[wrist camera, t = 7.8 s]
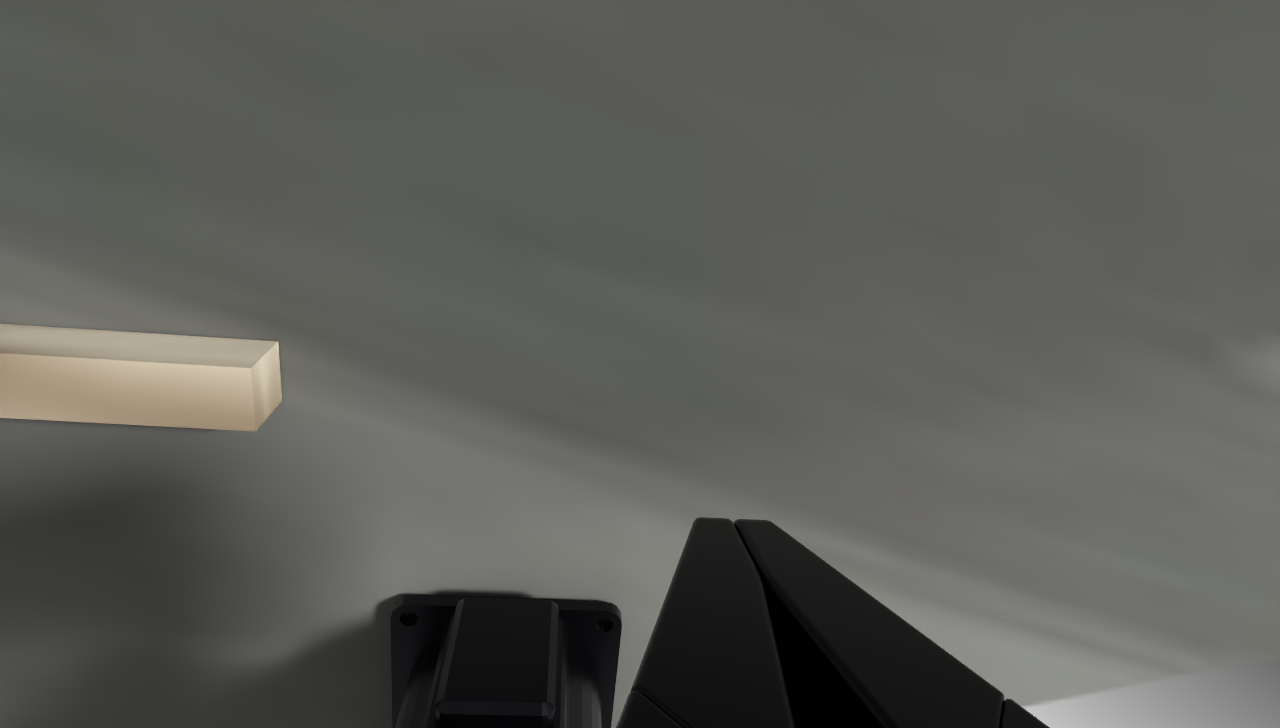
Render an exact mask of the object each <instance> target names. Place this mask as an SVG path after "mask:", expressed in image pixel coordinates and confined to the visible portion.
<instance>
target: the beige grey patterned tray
mask: <svg viewBox="0 0 1280 728" xmlns="http://www.w3.org/2000/svg"><path fill="white" fill-rule="evenodd" d="M281 401H282V390H281V376H280V361H279V347H278V342H277V341H261V340H246V339H230V338H215V337H199V336H183V335H168V334H152V333H136V332H121V331H105V330H89V329H74V328H58V327H42V326H27V325H11V324H0V418H15V419H33V420H52V421H71V422H90V423H109V424H128V425H146V426H165V427H184V428H203V429H222V430H240V431H257V430H258V428H259V427H260V426H261V425H262V424H263V423H264V421H265V420H266V419H267V418H268V417H269V415H270V414H271V413H272V412H273V411H274V409H275V408H276V407H277V406H278V405H279V403H280V402H281Z"/></svg>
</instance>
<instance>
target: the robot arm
mask: <svg viewBox="0 0 1280 728" xmlns="http://www.w3.org/2000/svg"><path fill="white" fill-rule="evenodd" d="M404 612H413V613H415V614H416V615H417V616H416V617H409V616H406V615H405V614H404ZM602 618H608V619H610V620H611V621H609V622H608V623H600V622H598V620H599V619H602ZM621 628H622V623H621V612H620V610H619V609H618V607H617V606H615V605H614V604H612V603H608V602H590V601H561V600H540V599H511V598H482V597H445V596H416V595H411V596H404V597H402V598H400V599H399V600H398V601H397V602H396V603H395V606H394V609H393V612H392V615H391V658H392V713H393V728H611V721H612V712H613V703H614V693H615V684H616V675H617V665H618V656H619V647H620V637H621ZM616 728H1049V727H1048V726H1046V725H1045V724H1044V723H1042V722H1041V721H1040V720H1038V719H1037V718H1036V717H1034V716H1033V715H1032V714H1030V713H1029V712H1028V711H1026V710H1025V709H1024V708H1022V707H1021V706H1020V705H1018V704H1017V703H1016V702H1014V701H1013V700H1011V699H1006V700H1005V701H1004V695H1003V693H1002V692H1000V691H999V690H998V689H996V688H995V687H994V686H992V685H991V684H990V683H988V682H987V681H985V680H984V679H983V678H981V677H980V676H979V675H977V674H976V673H975V672H973V671H972V670H971V669H969V668H968V667H967V666H965V665H964V664H963V663H961V662H960V661H959V660H957V659H956V658H954V657H953V656H952V655H950V654H949V653H948V652H946V651H945V650H944V649H942V648H941V647H940V646H938V645H937V644H936V643H934V642H933V641H932V640H930V639H929V638H927V637H926V636H925V635H923V634H922V633H921V632H919V631H918V630H917V629H915V628H914V627H913V626H911V625H910V624H909V623H907V622H906V621H905V620H903V619H902V618H900V617H899V616H898V615H896V614H895V613H894V612H892V611H891V610H890V609H888V608H887V607H886V606H884V605H883V604H882V603H880V602H879V601H878V600H876V599H875V598H874V597H872V596H871V595H869V594H868V593H867V592H865V591H864V590H863V589H861V588H860V587H859V586H857V585H856V584H855V583H853V582H852V581H851V580H849V579H848V578H847V577H845V576H844V575H842V574H841V573H840V572H838V571H837V570H836V569H834V568H833V567H832V566H830V565H829V564H828V563H826V562H825V561H824V560H822V559H821V558H820V557H818V556H817V555H816V554H814V553H813V552H811V551H810V550H809V549H807V548H806V547H805V546H803V545H802V544H801V543H799V542H798V541H797V540H795V539H794V538H793V537H791V536H790V535H789V534H787V533H786V532H784V531H783V530H782V529H780V528H779V527H778V526H776V525H775V524H774V523H772V522H770V521H767V520H748V519H739V520H736V521H734V523H733V522H732V521H731V520H729V519H724V518H697V519H696V520H695V521H694V523H693V525H692V528H691V531H690V533H689V536H688V539H687V541H686V544H685V547H684V549H683V552H682V555H681V558H680V560H679V563H678V566H677V568H676V571H675V574H674V576H673V579H672V582H671V584H670V587H669V590H668V592H667V595H666V598H665V600H664V603H663V606H662V609H661V611H660V614H659V617H658V619H657V622H656V625H655V627H654V630H653V633H652V635H651V638H650V641H649V643H648V646H647V649H646V651H645V654H644V657H643V659H642V662H641V665H640V668H639V670H638V673H637V676H636V678H635V681H634V684H633V686H632V689H631V693H630V694H629V696H628V698H627V701H626V704H625V706H624V709H623V712H622V714H621V717H620V720H619V722H618V724H617V727H616Z"/></svg>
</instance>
